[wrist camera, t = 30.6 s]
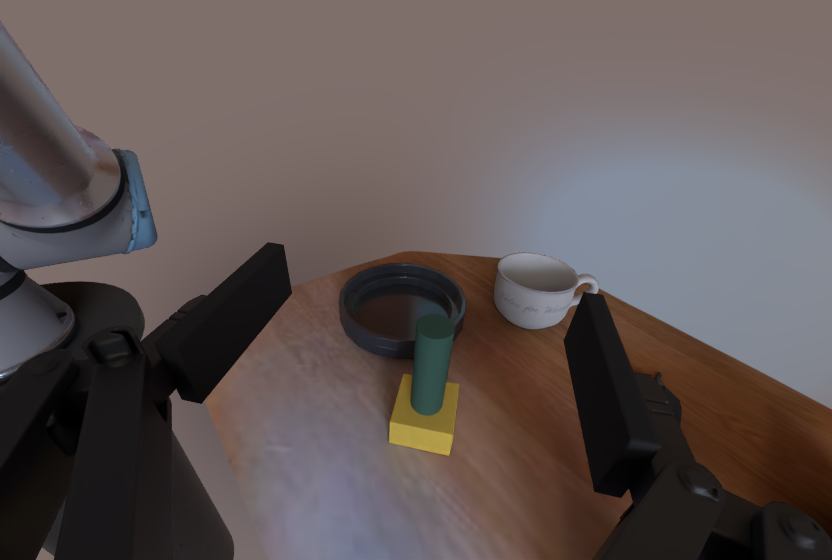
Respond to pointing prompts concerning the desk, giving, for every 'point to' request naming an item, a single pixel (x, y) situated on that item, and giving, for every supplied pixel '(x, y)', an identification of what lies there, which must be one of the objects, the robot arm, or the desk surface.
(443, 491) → the desk surface
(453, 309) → the bowl
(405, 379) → the green peg on stand
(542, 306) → the teacup
